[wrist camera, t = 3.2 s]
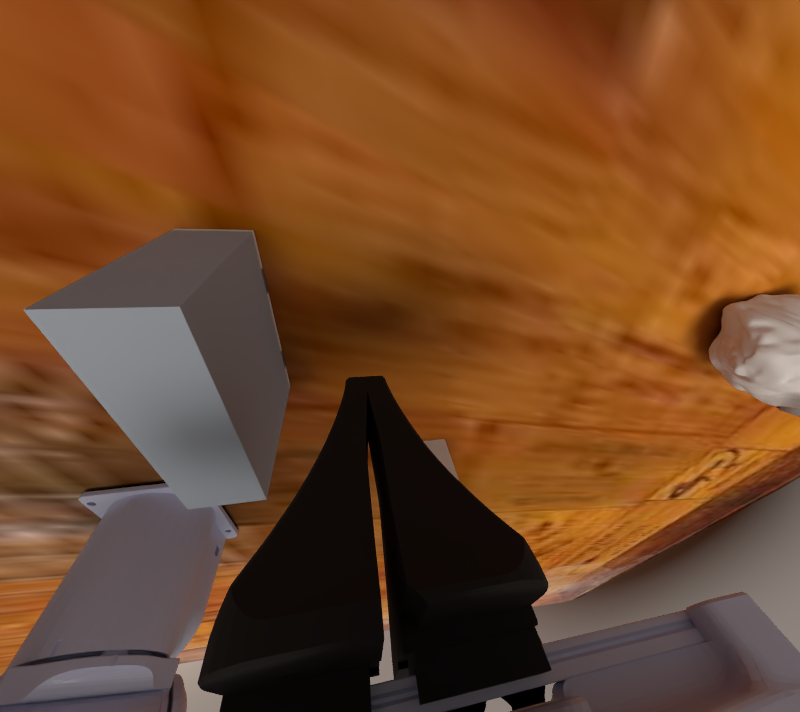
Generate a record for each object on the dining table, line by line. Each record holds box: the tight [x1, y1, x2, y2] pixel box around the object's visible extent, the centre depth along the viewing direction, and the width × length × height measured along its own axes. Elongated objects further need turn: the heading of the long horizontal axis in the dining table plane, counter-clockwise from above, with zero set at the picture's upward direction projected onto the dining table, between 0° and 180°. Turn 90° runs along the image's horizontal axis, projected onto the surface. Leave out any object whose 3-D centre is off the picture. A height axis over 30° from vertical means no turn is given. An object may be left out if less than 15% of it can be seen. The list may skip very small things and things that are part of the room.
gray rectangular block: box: [24, 228, 290, 509], centre depth 12 cm, size 9×3×7 cm, turn 176°
